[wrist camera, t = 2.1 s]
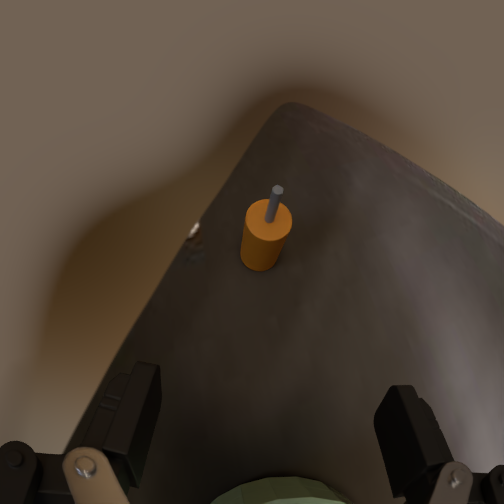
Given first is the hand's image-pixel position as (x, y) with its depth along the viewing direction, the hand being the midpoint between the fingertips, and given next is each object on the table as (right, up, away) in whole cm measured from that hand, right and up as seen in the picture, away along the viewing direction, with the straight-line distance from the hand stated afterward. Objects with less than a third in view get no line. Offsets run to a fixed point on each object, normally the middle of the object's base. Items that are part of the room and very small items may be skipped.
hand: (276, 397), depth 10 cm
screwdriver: (0, +5, +20) cm, 20 cm away
